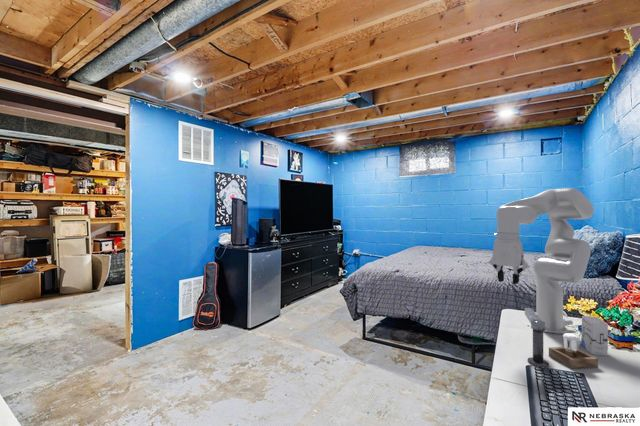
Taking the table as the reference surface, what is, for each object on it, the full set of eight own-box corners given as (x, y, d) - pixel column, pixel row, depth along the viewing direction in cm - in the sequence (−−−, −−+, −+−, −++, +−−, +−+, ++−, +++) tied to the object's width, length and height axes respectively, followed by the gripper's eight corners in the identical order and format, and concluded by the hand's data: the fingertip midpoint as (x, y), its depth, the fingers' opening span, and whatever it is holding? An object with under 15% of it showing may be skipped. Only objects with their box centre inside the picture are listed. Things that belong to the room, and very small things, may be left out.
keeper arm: (546, 331, 102) (546, 324, 102) (532, 329, 104) (532, 322, 104) (534, 315, 119) (534, 308, 119) (522, 313, 120) (522, 307, 120)
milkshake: (585, 364, 103) (585, 334, 103) (567, 362, 105) (567, 333, 105) (577, 357, 108) (577, 329, 108) (560, 356, 109) (560, 328, 109)
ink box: (580, 344, 120) (580, 314, 120) (596, 346, 118) (596, 316, 118) (591, 354, 112) (591, 322, 112) (608, 356, 110) (608, 324, 110)
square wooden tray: (572, 354, 111) (572, 346, 111) (598, 367, 102) (598, 358, 102) (548, 355, 111) (548, 347, 111) (572, 369, 101) (572, 360, 101)
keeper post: (539, 358, 108) (539, 325, 108) (553, 367, 102) (553, 332, 102) (523, 359, 108) (523, 326, 108) (536, 368, 102) (536, 333, 102)
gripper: (481, 236, 126) (482, 279, 126) (528, 239, 112) (528, 288, 113) (490, 235, 131) (490, 277, 131) (536, 238, 117) (536, 285, 117)
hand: (508, 282), depth 122 cm, fingers open, 4 cm apart
